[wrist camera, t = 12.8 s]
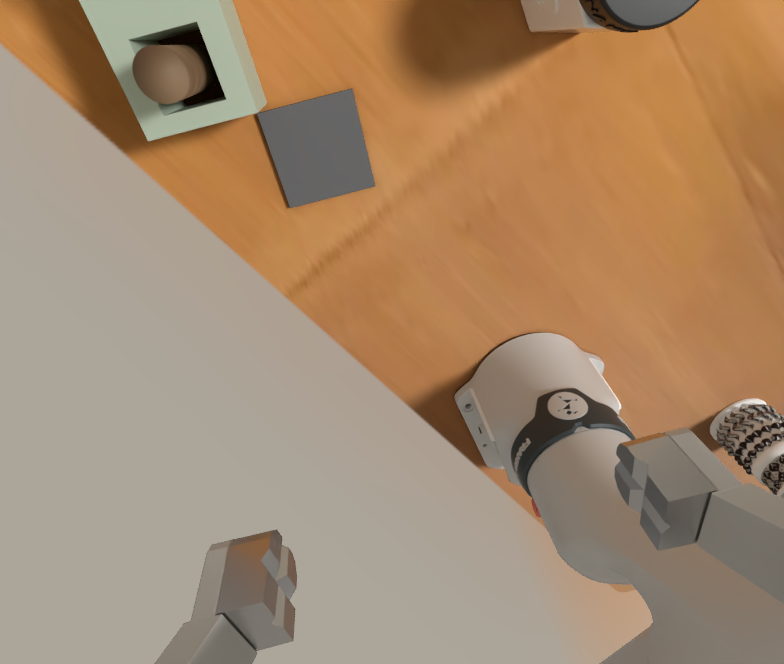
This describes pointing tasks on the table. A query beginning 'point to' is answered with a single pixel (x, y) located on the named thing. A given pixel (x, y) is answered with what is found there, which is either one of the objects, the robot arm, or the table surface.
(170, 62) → the walnut peg
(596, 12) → the jar
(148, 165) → the table surface
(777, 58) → the table surface
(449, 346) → the table surface
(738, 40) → the table surface
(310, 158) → the mat
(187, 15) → the socket block
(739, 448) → the decorative candle
